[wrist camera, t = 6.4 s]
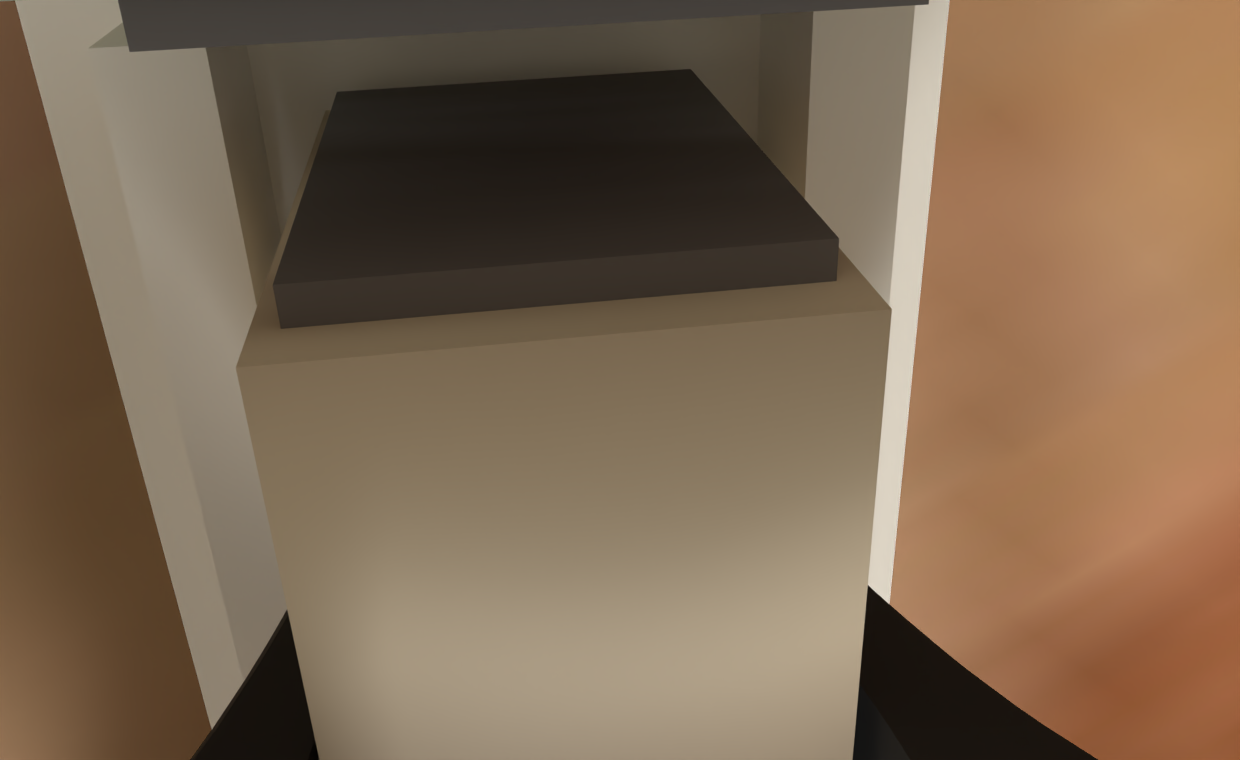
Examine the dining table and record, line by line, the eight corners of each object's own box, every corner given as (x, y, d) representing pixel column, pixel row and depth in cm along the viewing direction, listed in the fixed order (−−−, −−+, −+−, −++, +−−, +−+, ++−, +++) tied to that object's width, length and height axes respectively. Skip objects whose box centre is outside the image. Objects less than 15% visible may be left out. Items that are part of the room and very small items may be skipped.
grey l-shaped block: (854, 704, 19) (1050, 1135, 13) (249, 781, 18) (151, 1290, 12) (966, -583, 11) (1590, -1017, 5) (-100, -581, 10) (-913, -1125, 4)
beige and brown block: (699, 755, 17) (814, 1189, 12) (430, 790, 17) (425, 1257, 11) (699, 57, 12) (895, 264, 7) (321, 82, 12) (224, 320, 7)
